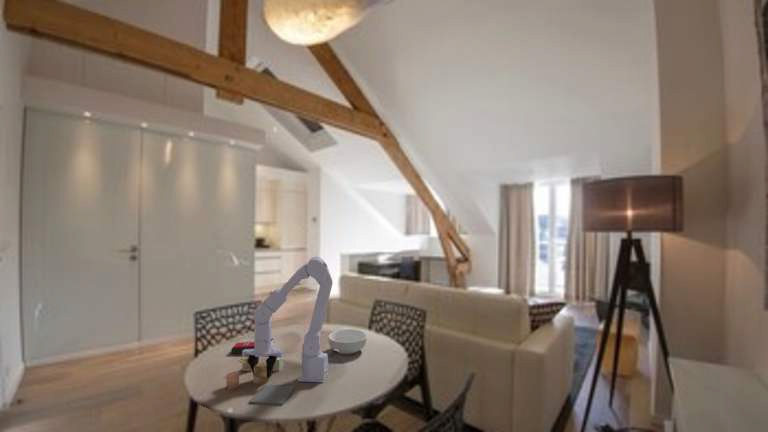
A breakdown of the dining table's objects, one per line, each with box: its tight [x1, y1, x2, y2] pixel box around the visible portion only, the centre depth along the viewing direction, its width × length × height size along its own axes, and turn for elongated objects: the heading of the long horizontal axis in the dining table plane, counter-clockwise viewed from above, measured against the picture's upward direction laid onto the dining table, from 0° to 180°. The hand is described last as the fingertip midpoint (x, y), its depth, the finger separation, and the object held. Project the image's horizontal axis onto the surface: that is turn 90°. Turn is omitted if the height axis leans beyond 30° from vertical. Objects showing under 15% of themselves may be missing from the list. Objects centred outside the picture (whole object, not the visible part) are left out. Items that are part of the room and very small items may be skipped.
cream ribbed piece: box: [238, 356, 260, 372], centre depth 134 cm, size 4×8×5 cm, turn 128°
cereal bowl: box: [328, 328, 368, 355], centre depth 153 cm, size 17×17×7 cm
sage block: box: [272, 354, 285, 372], centre depth 135 cm, size 4×4×4 cm
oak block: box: [253, 361, 272, 384], centre depth 125 cm, size 4×4×6 cm
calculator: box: [231, 337, 274, 356], centre depth 154 cm, size 11×4×15 cm
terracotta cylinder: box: [225, 371, 240, 391], centre depth 120 cm, size 4×4×4 cm
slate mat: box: [248, 384, 295, 406], centre depth 114 cm, size 11×11×1 cm
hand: (262, 376), depth 125 cm, fingers closed on oak block, 4 cm apart
